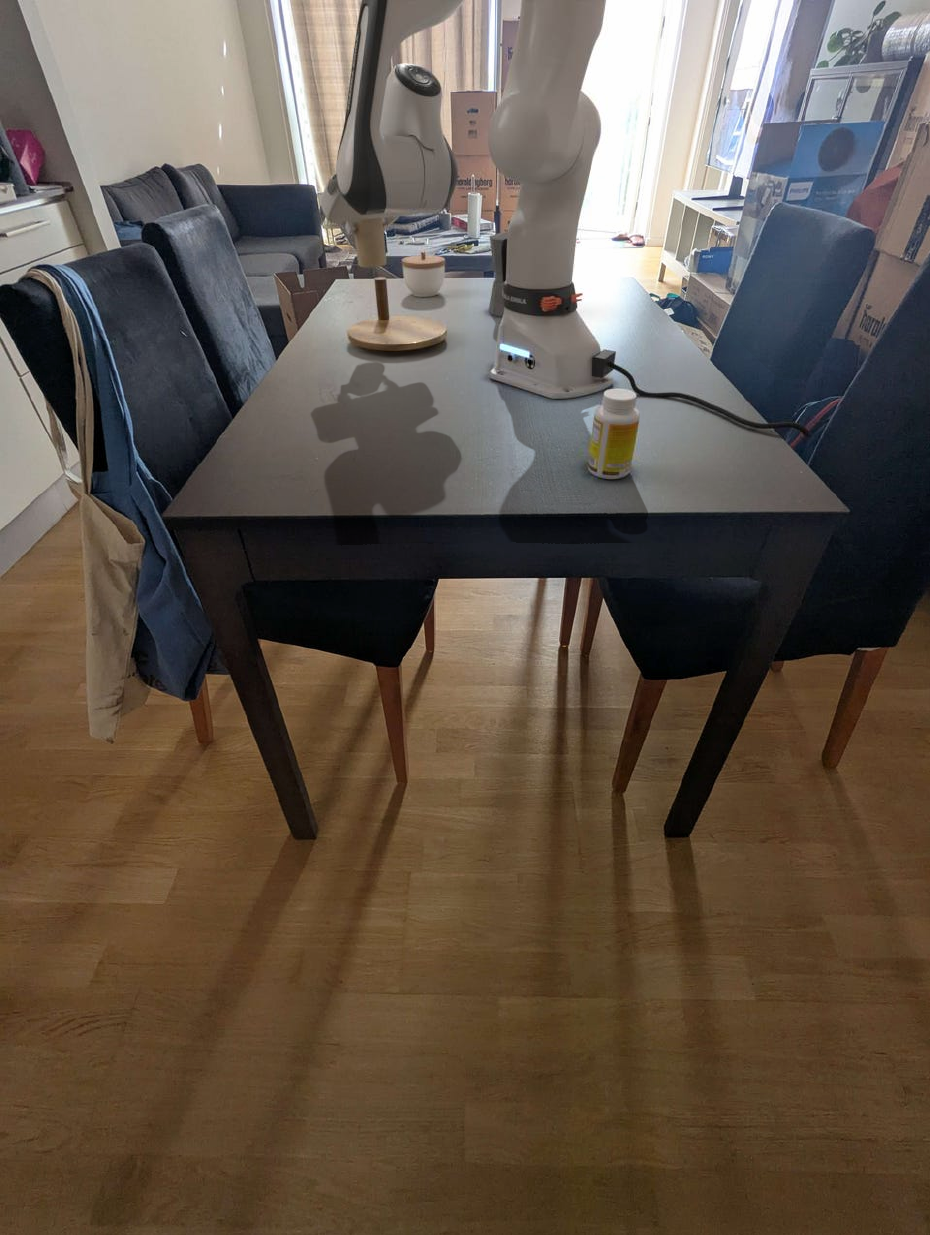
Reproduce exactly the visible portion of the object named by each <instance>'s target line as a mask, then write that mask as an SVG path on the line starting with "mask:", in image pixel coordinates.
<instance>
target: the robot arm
mask: <svg viewBox="0 0 930 1235" xmlns="http://www.w3.org/2000/svg"><path fill="white" fill-rule="evenodd" d="M464 2H465V0H361V2H360V7H359V13H358V19H357V26H356V31H355V32H356V33H355V38H354V39H355V40H354V45H353V46H354V47H353V54H352V63H351V69H350V78H349V86H348V93H347V100H346V108H345V117H344V123H343V129H342V132H341V136H340V141H339V147H338V151H337V156H336V164H335V173H333V174H332V175H331V176H330V177H329V178H328V181H327V183H326V185H325V187H324V190H323V193H322V195H321V199H320V207H321V210H322V212H323V215H324V217H325V218H326V219H327V221H328V222H329V224H337V223H345V225H344V228H345V231H346V234H347V235H348V236H352V235H354V234H356V232H357V230H358V227H357V225H356V224H355V221H356V220H365V219H375V218H382V221H383V231H384V232H387V231H389V230H390V227H391V225H393V224H394V222H396V221H397V220H398V219H399V218H400V217H403V216H410V215H420V214H440V213H442V212H443V211H444V210H445V209H446V207H447V206H448V205H449V203H450V201H451V200H452V198H453V195H454V194H455V193H454V192H455V190H456V186H457V183H458V178H459V169H458V168H459V167H458V163H457V159H456V156H455V154H454V151H453V150H452V147H451V145H450V144H449V141H448V140H447V138H446V137H445V134H444V131H443V126H442V117H441V115H442V102H443V87H442V85H441V83H440V81H439V80H438V78H437V77H436V76H435V75H434V74H433V72H432V71H430V70H428V69H427V68H425V67H424V66H422V65H418V64H415V63H409V62H407V63H406V62H402V63H398V64H396V65H395V66H394V67H393V68H392V69H391V71H390V73H389V69H390V64H391V61H392V57H393V56H394V53H395V51H396V50H397V48H399V46H400V45H401V43H403V42H404V41H405V40H406V39H408V38H410V37H411V36H413V35H415V34H418V33H420V32H422V31H425V30H428V29H430V28H432V27H436V26H437V25H440V24H442V23H444V22H445V21H447V20H448V19H449V18H451V17H452V16H453V15H454V14H455V13H456V12H457V11H458V10H459V9H460V7H461V6H462V5H463V4H464ZM606 4H607V0H521V2H520V12H519V20H518V25H517V26H518V28H517V33H516V38H515V42H514V47H513V51H512V56H511V59H510V64H509V68H508V72H507V76H506V80H505V85H504V89H503V92H502V96H501V99H500V101H499V103H498V105H497V107H496V108H495V110H494V112H493V114H492V116H491V119H490V123H489V126H488V132H487V144H488V150H489V151H488V152H489V155H490V158H491V161H492V163H493V165H494V166H495V168H496V169H497V171H498V172H499V173H500V174H501V175H503V177H504V178H507V179H509V180H511V181H513V182H516V183H519V184H520V185H519V190H518V195H517V199H516V203H515V207H514V211H513V214H512V216H511V219H510V220H509V221H510V223H509V226H508V225H507V231H508V232H507V263H506V281H505V282H504V283H503V290H502V296H503V302H502V304H503V306H504V307H505V309H504V314H503V317H501V321H500V324H499V325H498V330H497V338H496V347H495V348H496V349H495V356H494V357H495V358H494V365H493V367H492V368H491V369H490V371H489V378H490V379H492V380H493V381H497V382H500V383H503V384H506V385H510V386H513V387H514V388H515V387H516V388H518V389H522V390H525V391H527V392H531V393H534V394H537V395H540V396H543V397H545V398H548V399H552V400H553V399H554V400H557V399H559V400H560V399H562V400H563V399H564V400H565V399H572V398H578V397H583V396H589V395H592V394H594V393H598V392H600V391H603V390H605V389H607V388H609V387H610V386H612V384H613V381H614V376H612V375H610V373H612V372H613V371H614V370H615V371H616V372H619V373H621V374H622V376H624V377H625V378H627V379H628V381H629V383H630V386H631V390H632V391H633V392H634V393H635V394H636V395H639V396H641V397H647V398H678V399H679V398H680V399H683V400H687V401H690V402H693V403H696V404H697V405H698V404H699V405H701V406H702V407H704V408H707V409H710V410H712V411H714V412H717V413H719V414H721V415H723V416H725V417H727V418H729V419H731V420H732V421H734V422H736V423H739V424H741V425H743V426H746V427H750V428H754V429H759V430H769V429H770V430H772V429H781V428H790V429H795V430H797V431H799V432H801V433H802V435H803V436H804V437H808V438H810V437H812V434H811V432H810V431H809V430H808V428H807V427H806V426H804V425H802V424H800V423H798V422H792V421H783V422H781V421H780V422H771V423H769V422H768V423H762V422H755V421H751V420H748V419H746V418H743V417H741V416H739V415H736V414H735V413H733V412H731V411H729V410H727V409H725V408H723V407H721V406H718V405H716V404H714V403H711V402H709V401H706V400H704V399H702V398H699V397H696V396H693V395H690V394H686V393H683V392H676V391H674V392H673V391H671V392H670V391H669V392H648V391H644V390H642V389H640V388H639V387H638V386H637V384H636V381H635V379H634V377H633V375H632V374H631V373H630V372H629V371H628V370H626V369H625V368H624V367H622V366H620V365H618V364H616V363H615V362H616V356H617V355H616V354H617V351H616V350H610V349H601V344H600V343H599V341H598V340H597V338H596V337H595V336H594V335H593V333H592V332H591V330H590V329H589V327H588V326H587V324H586V322H585V321H584V320H583V318H582V317H581V315H580V314H579V312H578V310H577V309H578V302H582V301H583V299H582V298H579V297H581V296H584V293H583V292H580V293H576V288H575V282H573V275H574V267H575V266H574V265H575V254H576V245H577V235H578V228H579V223H580V218H581V213H582V209H583V204H584V200H585V196H586V192H587V188H588V184H589V179H590V174H591V170H592V165H593V159H594V156H595V154H596V151H597V149H598V146H599V144H600V141H601V140H600V139H601V137H602V136H601V135H602V122H601V116H600V113H599V110H598V108H597V106H596V104H595V103H594V102H593V100H592V99H591V98H590V97H589V96H588V95H587V94H586V93H585V92H583V91H582V88H583V84H584V80H585V77H586V75H587V74H586V73H587V70H588V67H589V63H590V60H591V56H592V54H593V51H594V47H595V45H596V43H597V41H598V39H599V37H600V34H601V31H602V29H603V24H604V18H605V10H606Z"/></svg>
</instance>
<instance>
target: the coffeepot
mask: <svg viewBox="0 0 930 1235" xmlns="http://www.w3.org/2000/svg"><path fill="white" fill-rule="evenodd" d="M509 223H510V220H508V221H507V227H508V226H509ZM507 232H508V230H506V231H505V230H504V231H502V232H499V233H495V234H493V235H490V236H489V243H490V252H491V260H492V271H493V272H494V281H493V283H492V289H491V295H490V301H489V308H488V311H489V314H491V315H492V316H495V317H498V318H503V314H504V309H505V307H504V306H503V304H502V302H503V296H502V290H503V283H504V282H505V281H506V263H507Z"/></svg>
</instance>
